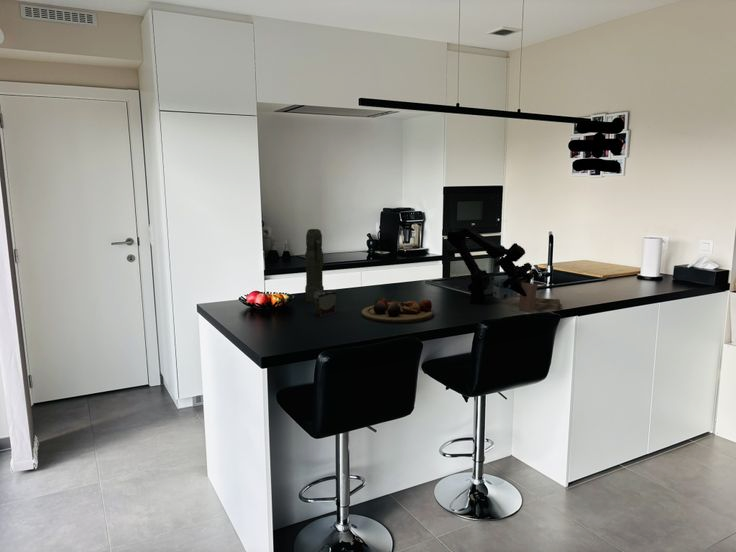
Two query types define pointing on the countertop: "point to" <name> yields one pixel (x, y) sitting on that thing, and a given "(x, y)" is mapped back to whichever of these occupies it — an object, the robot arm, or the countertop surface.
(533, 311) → the trivet
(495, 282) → the light bulb box
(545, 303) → the sleeve
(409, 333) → the countertop surface
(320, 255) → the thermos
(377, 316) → the wooden plate with food
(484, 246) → the robot arm
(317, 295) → the food container
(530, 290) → the block
